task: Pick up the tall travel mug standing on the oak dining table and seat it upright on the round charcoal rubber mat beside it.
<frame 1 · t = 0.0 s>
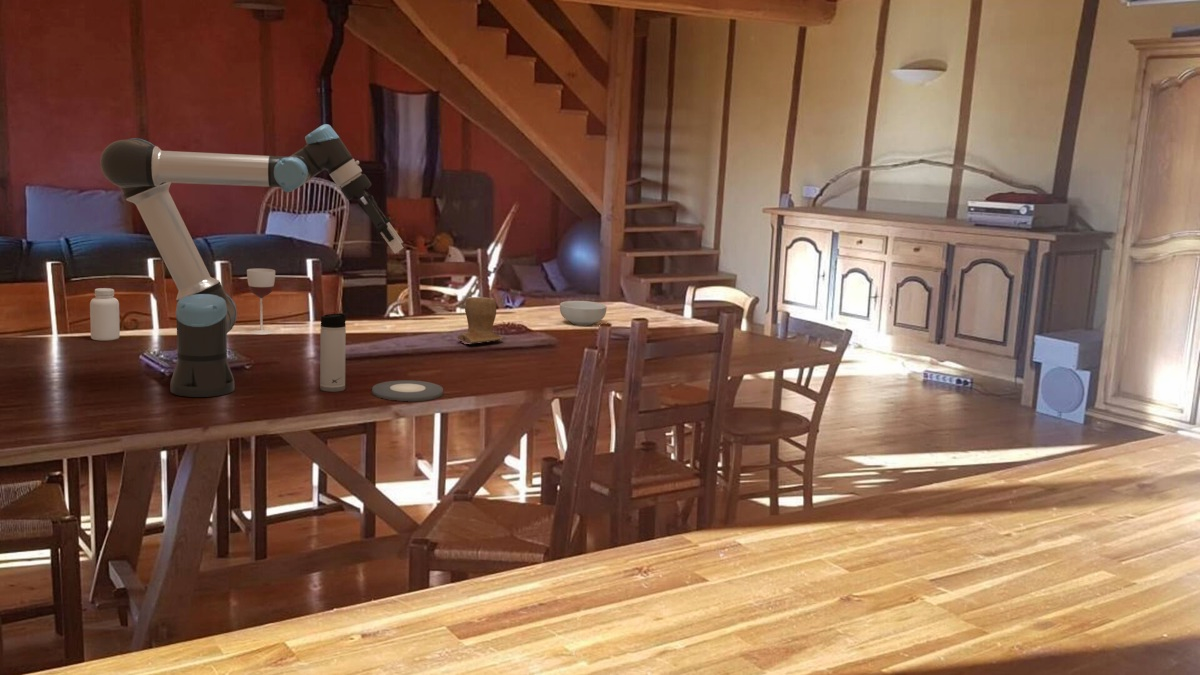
hand: (399, 247, 288), 36 cm above the table, tool tilted 35°, fingers open, 13 cm apart
wineglass: (261, 332, 349), on the table
travel mug: (333, 390, 281), on the table
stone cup: (477, 343, 352), on the table
pill bottle: (105, 339, 327), on the table
seat mat: (407, 392, 282), on the table
cereal bowl: (582, 324, 397), on the table
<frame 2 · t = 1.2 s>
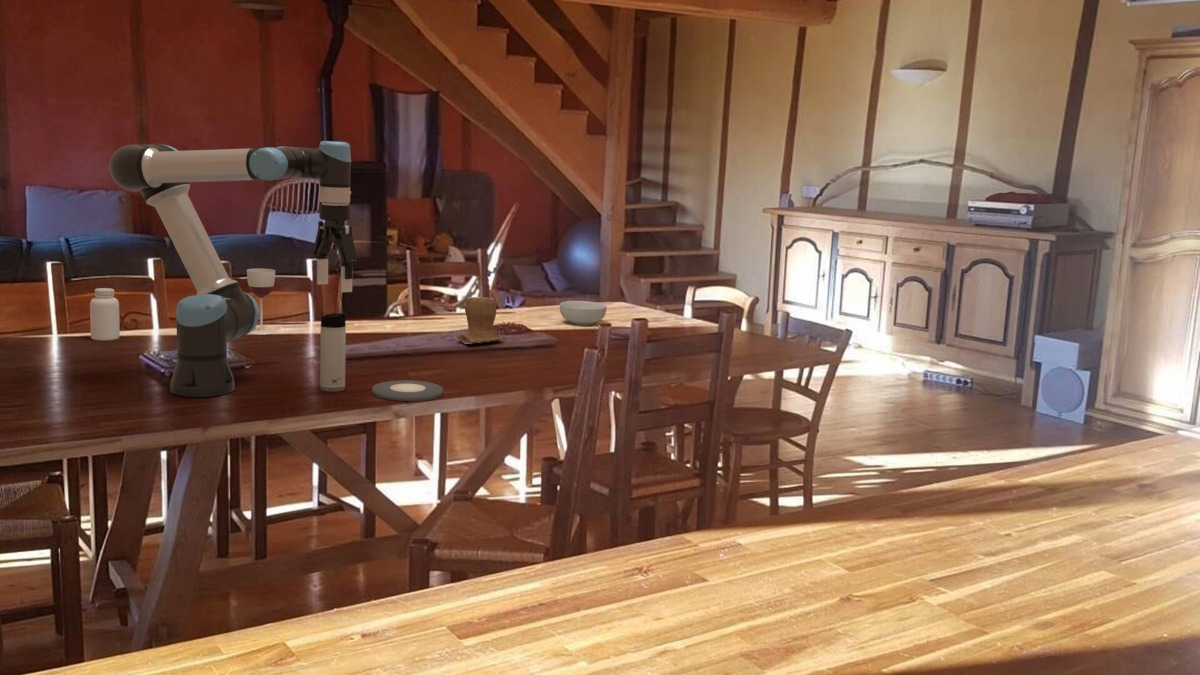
hand: (334, 288, 277), 26 cm above the table, tool pointing down, fingers open, 13 cm apart
nothing on the table moved.
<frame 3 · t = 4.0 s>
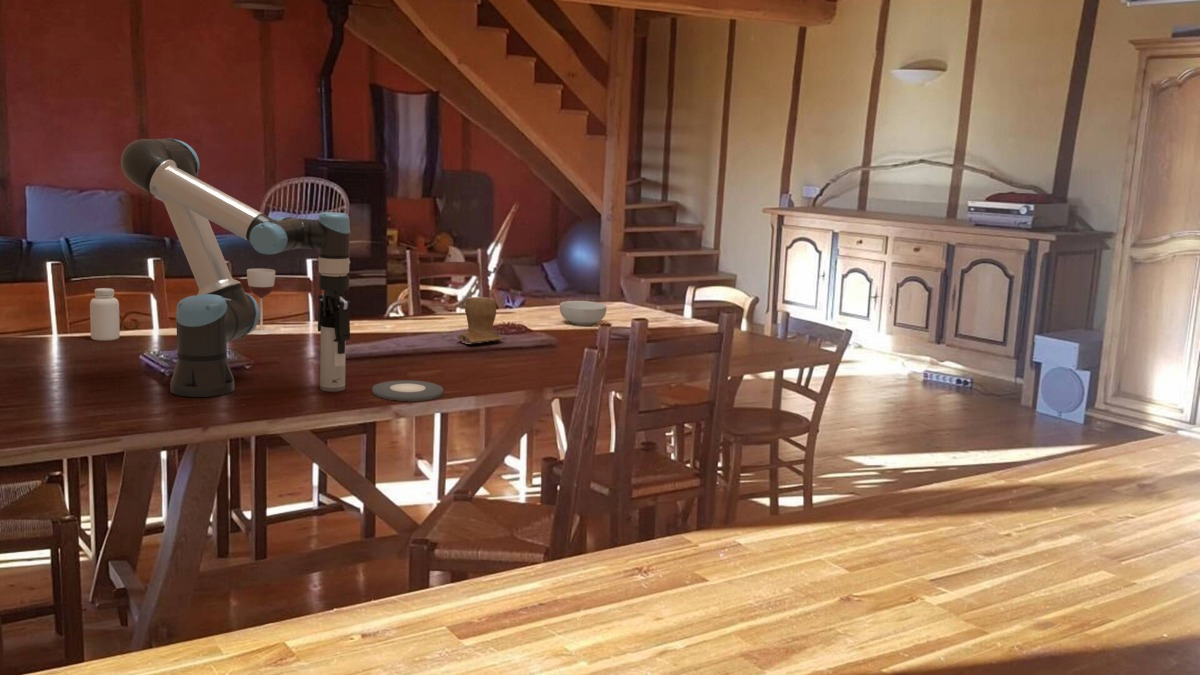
hand: (333, 362, 280), 7 cm above the table, tool pointing down, fingers closed on travel mug, 6 cm apart
travel mug: (333, 389, 281), on the table, touching gripper
everything else where it was.
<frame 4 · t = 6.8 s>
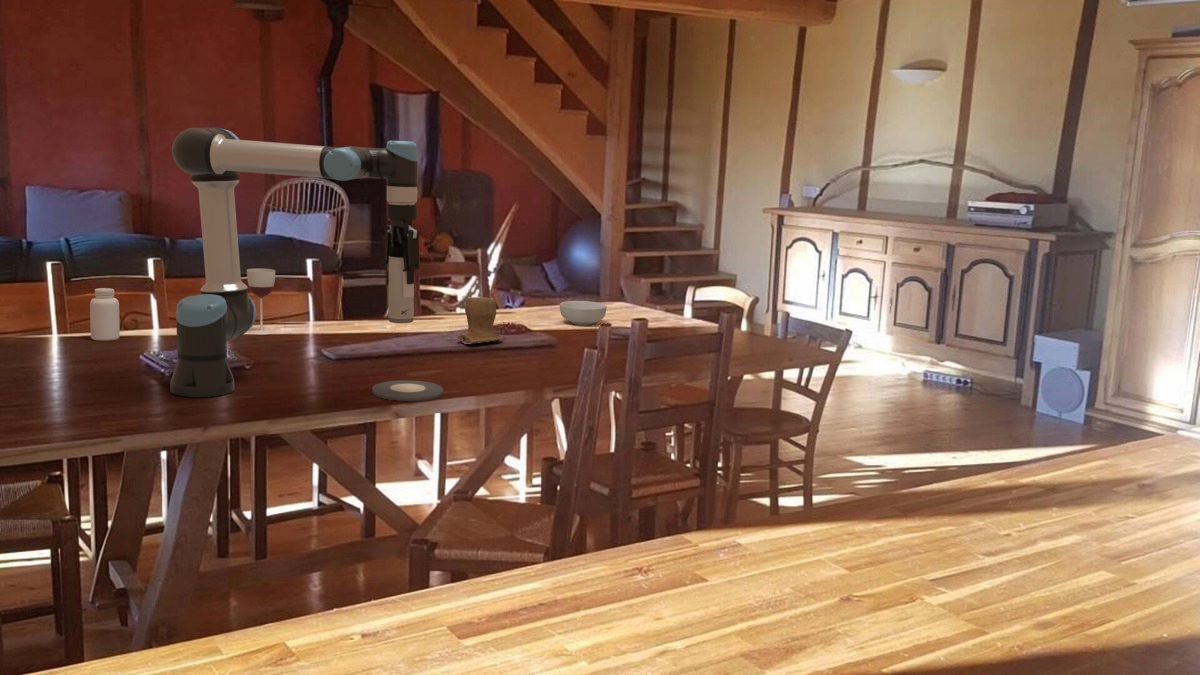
hand: (401, 294, 277), 26 cm above the table, tool pointing down, fingers closed on travel mug, 6 cm apart
travel mug: (401, 322, 278), point 19 cm above the table, touching gripper
everything else where it was.
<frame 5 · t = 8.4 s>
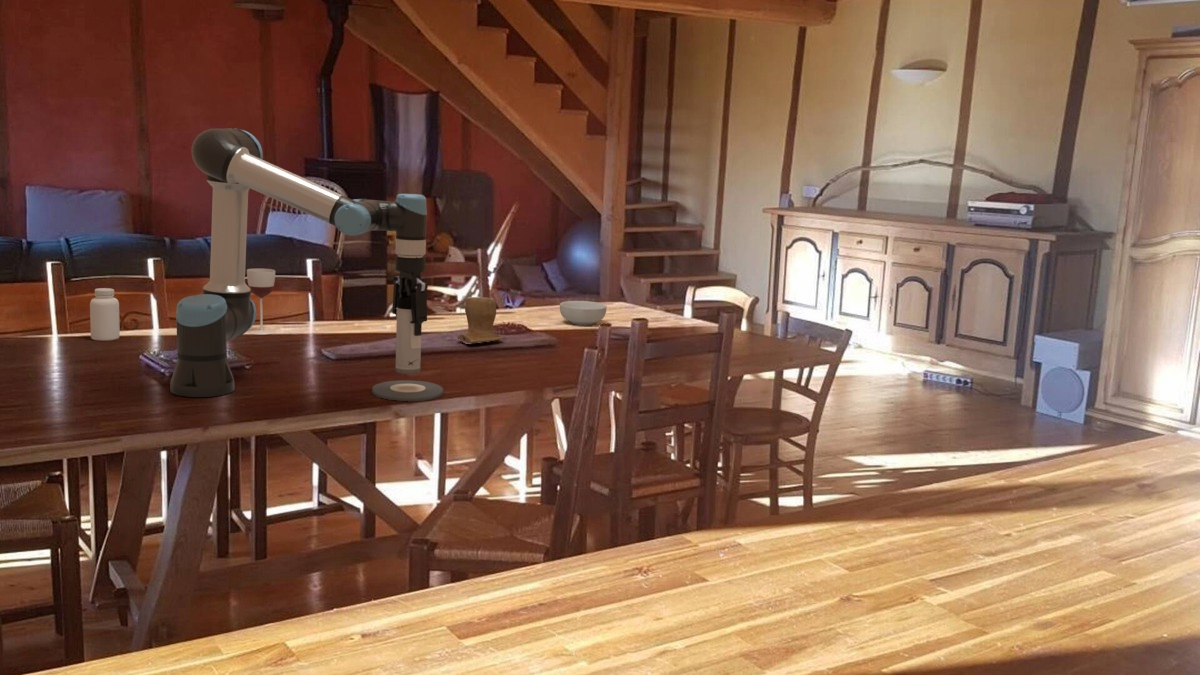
hand: (408, 345, 279), 13 cm above the table, tool pointing down, fingers closed on travel mug, 6 cm apart
travel mug: (408, 372, 281), point 5 cm above the table, touching gripper
everything else where it was.
when the fingers open (9 cm above the table, at t = 9.7 s): travel mug stays where it is, resting on seat mat.
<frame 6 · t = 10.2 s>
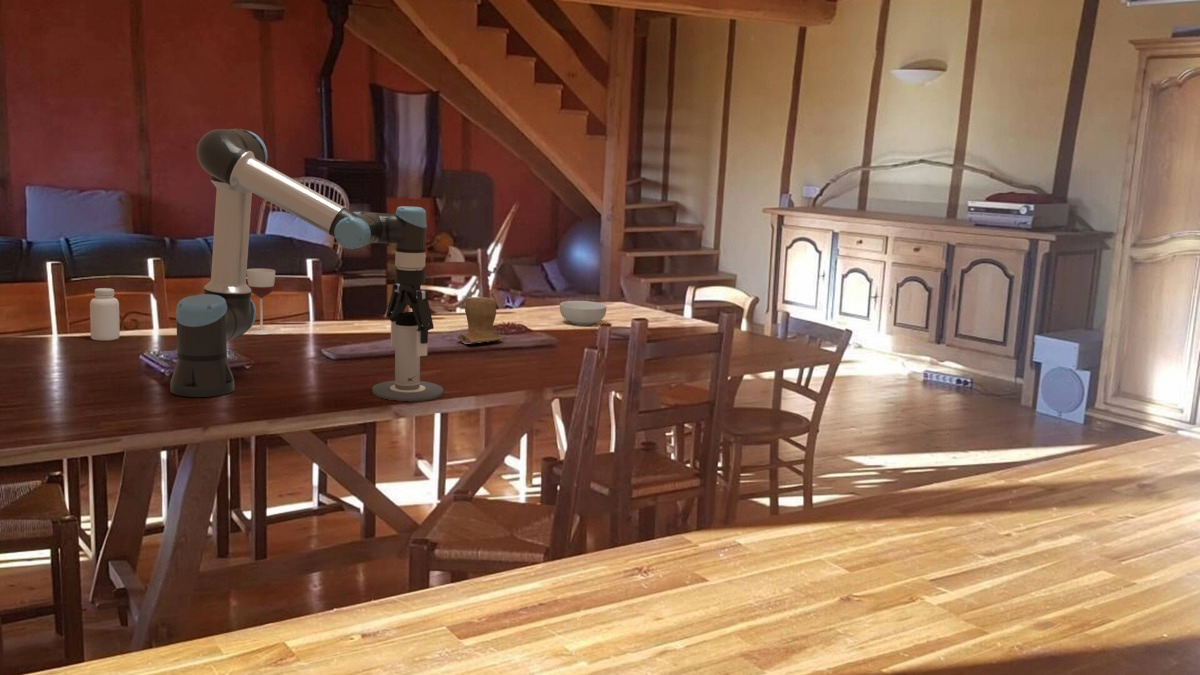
hand: (408, 350, 280), 11 cm above the table, tool pointing down, fingers open, 13 cm apart
travel mug: (408, 388, 281), point 1 cm above the table, touching seat mat
everything else where it was.
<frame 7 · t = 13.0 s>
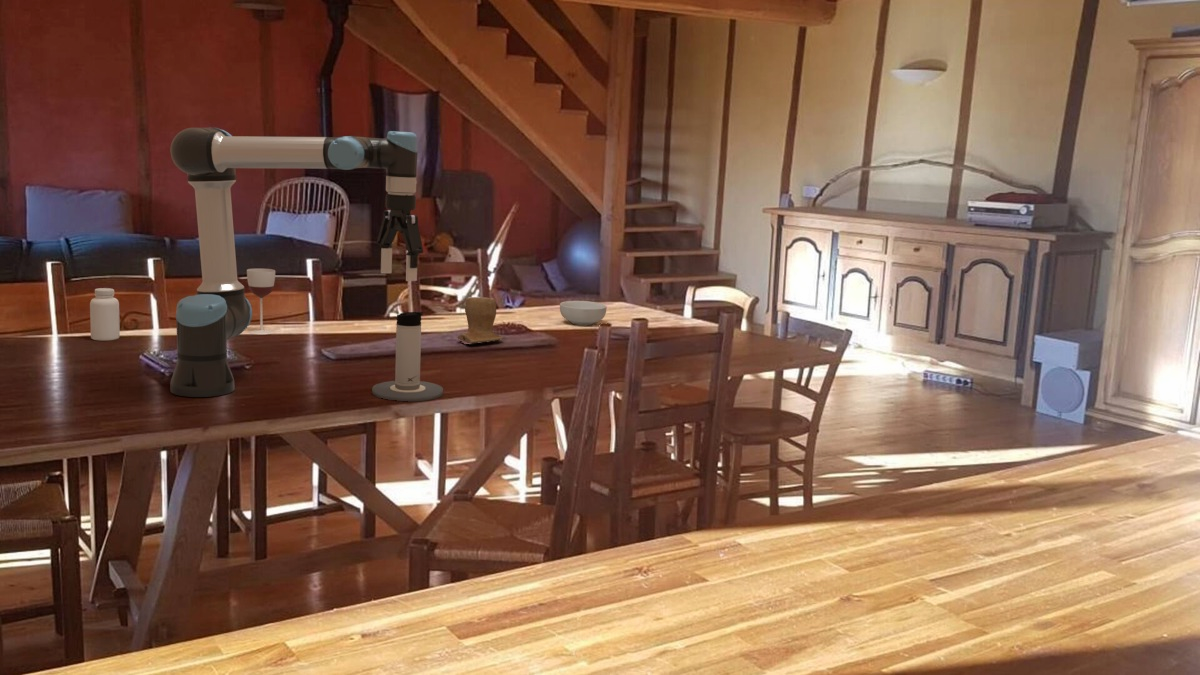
hand: (398, 277, 279), 30 cm above the table, tool pointing down, fingers open, 13 cm apart
nothing on the table moved.
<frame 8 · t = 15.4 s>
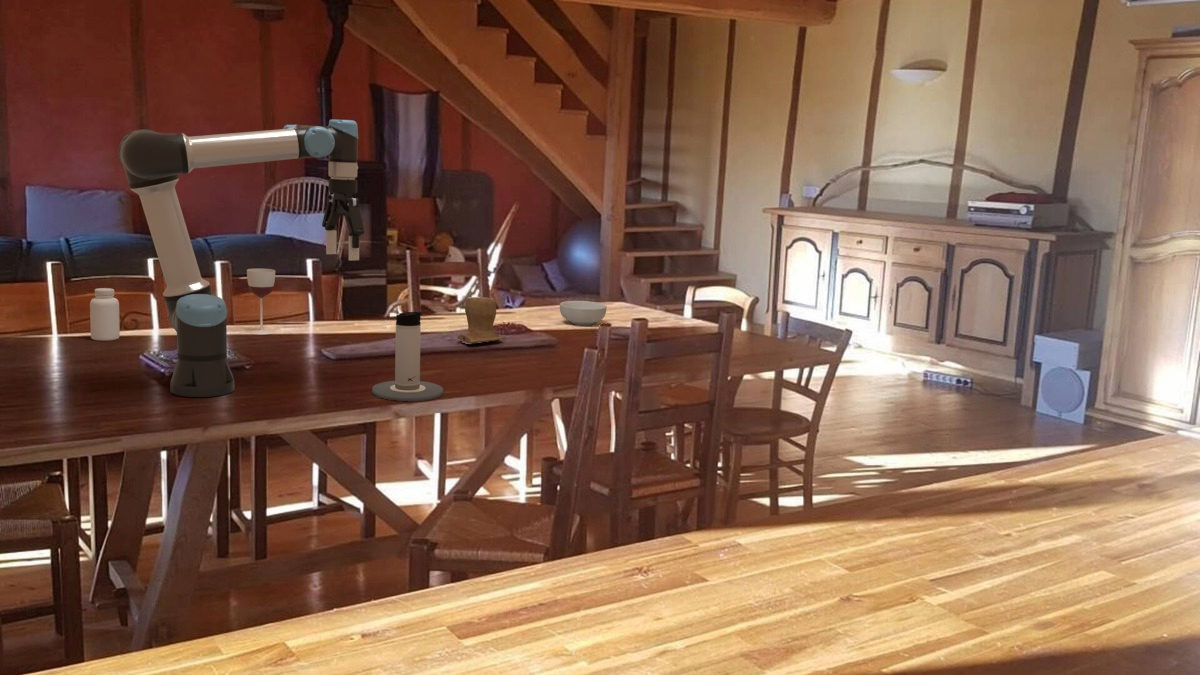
hand: (342, 257, 296), 32 cm above the table, tool pointing down, fingers open, 13 cm apart
nothing on the table moved.
at the end: travel mug inside the target area on the seat mat (0.1 cm from its centre), point 1.2 cm above the seat mat's base; travel mug tilted 0°; the gripper is holding nothing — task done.
